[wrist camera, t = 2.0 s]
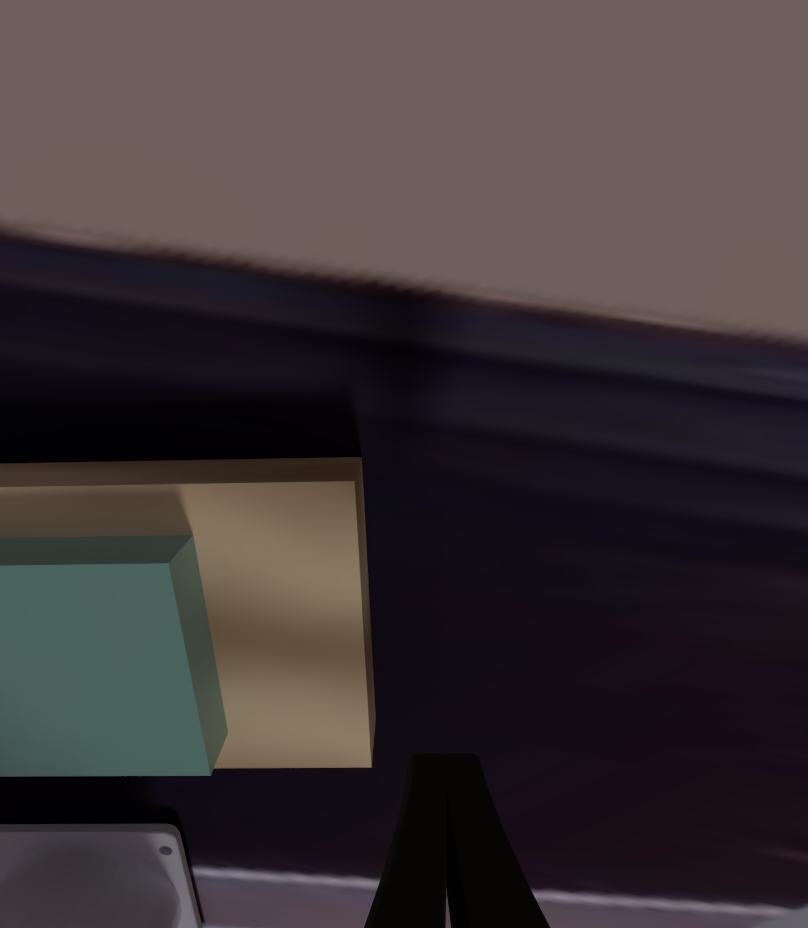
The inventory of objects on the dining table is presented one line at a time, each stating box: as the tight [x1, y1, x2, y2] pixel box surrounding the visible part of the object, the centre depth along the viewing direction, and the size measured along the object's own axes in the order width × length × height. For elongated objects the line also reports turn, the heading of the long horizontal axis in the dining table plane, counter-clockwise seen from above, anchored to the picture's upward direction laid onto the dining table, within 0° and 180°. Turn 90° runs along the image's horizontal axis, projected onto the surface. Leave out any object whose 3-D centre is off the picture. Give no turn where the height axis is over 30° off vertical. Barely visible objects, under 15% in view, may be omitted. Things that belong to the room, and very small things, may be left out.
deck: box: [0, 457, 376, 768], centre depth 16 cm, size 10×16×2 cm, turn 91°
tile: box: [0, 535, 228, 777], centre depth 14 cm, size 7×7×2 cm
